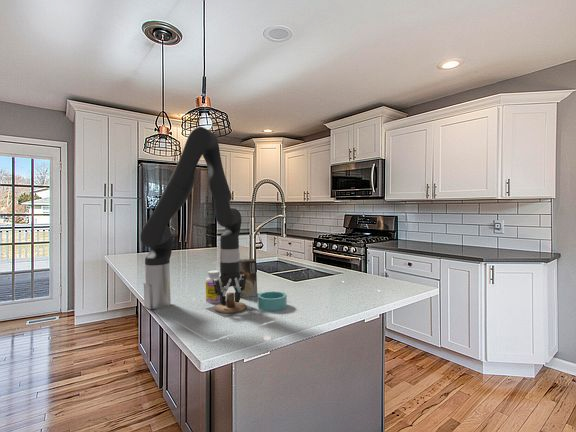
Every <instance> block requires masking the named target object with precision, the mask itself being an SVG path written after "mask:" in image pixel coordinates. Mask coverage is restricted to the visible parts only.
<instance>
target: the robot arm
mask: <svg viewBox="0 0 576 432" xmlns="http://www.w3.org/2000/svg"><path fill="white" fill-rule="evenodd" d="M220 150H221V149H220V145H219V140H218V137H217V135H216V134H215V133H214V132H212V131H211V130H209V129H208V128H205V127H203V126H197V127H195V128H193V129H192V130H191V131H190V133H189V134H188V136H187V139H186V141H185V144H184V147H183V149H182V153H181V154H180V157H179V160H178V162H177V163H176V166H175V168H174V169H173V172H172V174H171V176H170V178H169V180H168V182H167V184H166V185H165V187H164V190H163V192H162V194H161V197H160V198H159V199H158V202H157V203H156V204H157V205H156V207H155V209H154V210H153V212H152V214H151V215H150V217H149V218H148V220H147V221H146V223H144V226H143V227H142V230H141V232H140V241H141V244H142V245H143V246H144V247H145V248H149V252H148V254H147V255H146V256H145V259H144V270H145V271H144V272H145V273H144V275H145V278H144V279H145V281H144V283H143V307H145V308H146V309H148V310H156V309H162V308H166V307H169V306H171V304H172V303H171V302H172V301H171V300H172V299H171V270H170V269H171V267H170V266H171V265H170V264H171V262H170V259H171V256H172V248H173V247H172V245H173V243H172V242H173V241H172V240H173V236H172V235H173V234H172V231H171V228H170V227H169V223H170V221H171V219H172V218H173V216H175V214H176V213H177V212H178V211H179V210H180V209H181V208H182V207H183V206H184V205H185V203H186V202H187V200H188V198H189V196H190V195H191V193H192V190H193V189H194V184H195V177H196V169H197V166H198V164H199V161H200V159H201V158H202V157H203V158H204V161H205V164H206V167H207V174H208V175H207V177H208V178H207V180H208V186H209V190H210V192H211V193H210V194H211V197H212V199H213V204H214V205H213V206H214V214H215V220H216V222H217V223H218V224H219V225H220V226H221V227H222V228H224V232H223V233H222V234H220V237H219V238H220V239H219V240H220V241H219V243H220V247H219V248H220V249H219V250H220V251H219V273H220V275H219V277H220V278H219V279H214V280H213V284H214V290H215V294H217V295H220V302H219V304H221V305H223V306H225V305H226V294H227V293H228V292H227V291H228V290H229V289H230V288H231V287H232V288H233V289H234V301H235V302H237V303H238V302H240V300H241V297H240V292H241V291H242V290H244V289H245V283H246V275H243V274H241V275H240V274H239V271H240V258H241V257H240V244H239V243H240V240H239V239H240V238H239V236H240V233H241V232H240V231H241V227H242V219H243V218H242V215H241V212H240V211H239V210H238V209H237V208H234V207H231V204H230V202H231V200H232V199H233V197H232V196H233V195H232V193H231V190H230V187H229V183H228V181H227V178H226V177H227V176H226V174H225V171H224V168H223V162H222V158H221V153H220V152H221V151H220ZM239 279H240V282H239V283H238V280H239ZM220 282H222V285H221V289H220V284H221V283H220ZM235 291H236V292H235Z"/></svg>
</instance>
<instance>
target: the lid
mask: <svg viewBox="0 0 576 432" xmlns="http://www.w3.org/2000/svg"><path fill="white" fill-rule="evenodd" d="M225 296H226V305H225V306H223V305H221V303H219V304H216V305H214V306H215V311H216V312H218V313H223V314H232V313H238V312H241V311H244V310H245V309H246V305H247V304H245V303H244V302H240V301H239V302H238V303H237V302H234V301H235V292H226V295H225Z"/></svg>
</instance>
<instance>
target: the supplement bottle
mask: <svg viewBox="0 0 576 432" xmlns="http://www.w3.org/2000/svg"><path fill="white" fill-rule="evenodd" d="M207 275H208V277H206V279H205V302H206V303H208V304H216V303H220V295H217V294H215V290H214V284H213V280H214V279H219V278H220V275H221V273H220V270H216V269H215V270H209V271H207ZM220 283H221V284H220V289H221V285H222V282H220Z"/></svg>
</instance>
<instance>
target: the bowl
mask: <svg viewBox="0 0 576 432" xmlns="http://www.w3.org/2000/svg"><path fill="white" fill-rule="evenodd" d="M287 303H288V302H287V294H286V293H285V292H282V291H275V290H274V291H264V292H260V293H258V294H257V308H258V310H260V311H263V312H279V311H283V310H285V309H287V305H288V304H287Z"/></svg>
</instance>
